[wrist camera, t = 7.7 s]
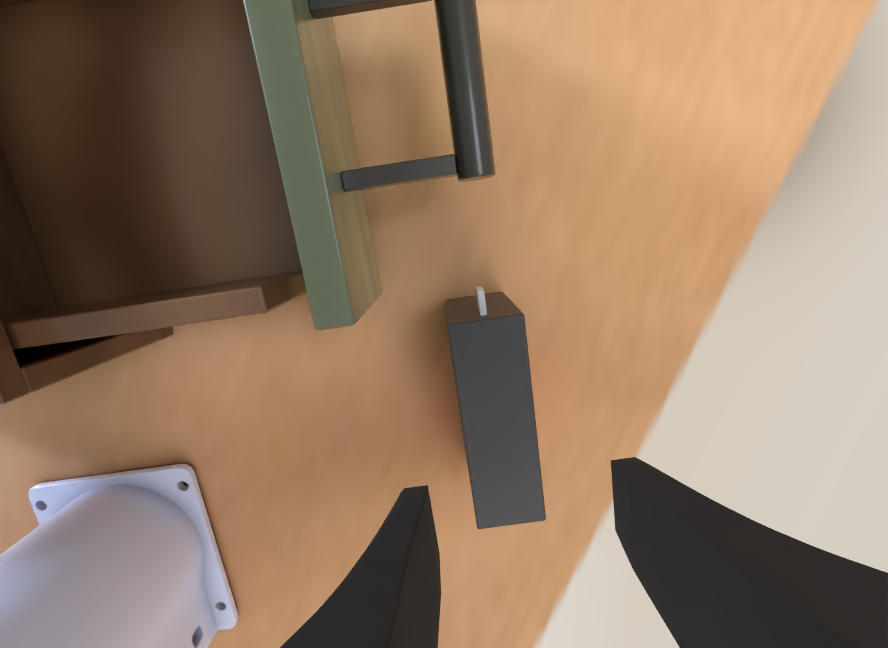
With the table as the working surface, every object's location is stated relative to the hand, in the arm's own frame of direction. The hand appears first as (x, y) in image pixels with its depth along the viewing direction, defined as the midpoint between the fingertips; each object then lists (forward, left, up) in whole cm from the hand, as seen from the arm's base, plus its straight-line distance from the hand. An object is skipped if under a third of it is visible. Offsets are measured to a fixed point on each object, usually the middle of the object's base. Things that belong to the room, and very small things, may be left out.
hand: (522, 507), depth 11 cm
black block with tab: (0, 0, -9) cm, 9 cm away
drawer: (+12, +8, -8) cm, 17 cm away
